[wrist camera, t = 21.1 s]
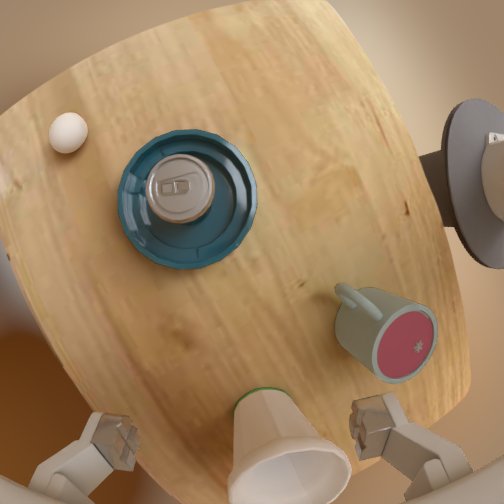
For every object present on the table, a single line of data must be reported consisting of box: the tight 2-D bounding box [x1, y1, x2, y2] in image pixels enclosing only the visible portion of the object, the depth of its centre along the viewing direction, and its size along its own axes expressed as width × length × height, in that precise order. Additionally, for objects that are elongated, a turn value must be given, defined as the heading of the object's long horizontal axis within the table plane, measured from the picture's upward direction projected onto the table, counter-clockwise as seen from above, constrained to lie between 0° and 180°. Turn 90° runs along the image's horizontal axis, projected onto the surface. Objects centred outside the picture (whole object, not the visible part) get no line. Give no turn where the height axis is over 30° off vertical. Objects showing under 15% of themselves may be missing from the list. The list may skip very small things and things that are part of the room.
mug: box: [335, 283, 438, 384], centre depth 33 cm, size 14×9×10 cm
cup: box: [228, 388, 352, 504], centre depth 30 cm, size 12×12×15 cm
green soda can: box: [146, 154, 215, 225], centre depth 27 cm, size 5×5×12 cm
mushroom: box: [48, 113, 88, 153], centre depth 29 cm, size 5×5×5 cm
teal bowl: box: [118, 129, 257, 269], centre depth 32 cm, size 14×14×4 cm
